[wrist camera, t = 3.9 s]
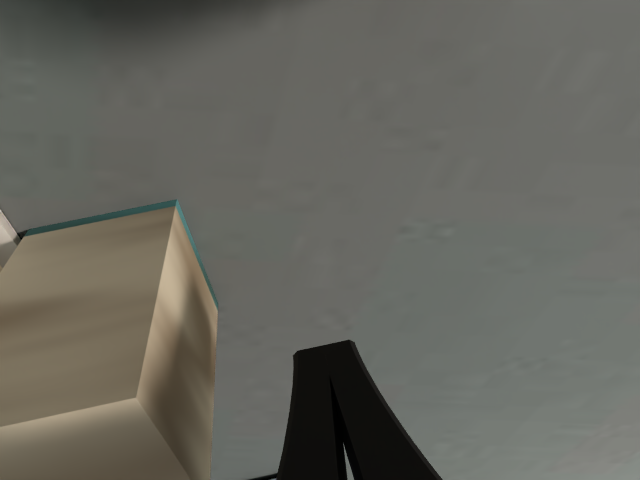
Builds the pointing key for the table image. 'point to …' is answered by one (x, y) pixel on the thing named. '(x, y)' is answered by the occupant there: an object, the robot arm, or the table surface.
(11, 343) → the beech block
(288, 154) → the table surface
